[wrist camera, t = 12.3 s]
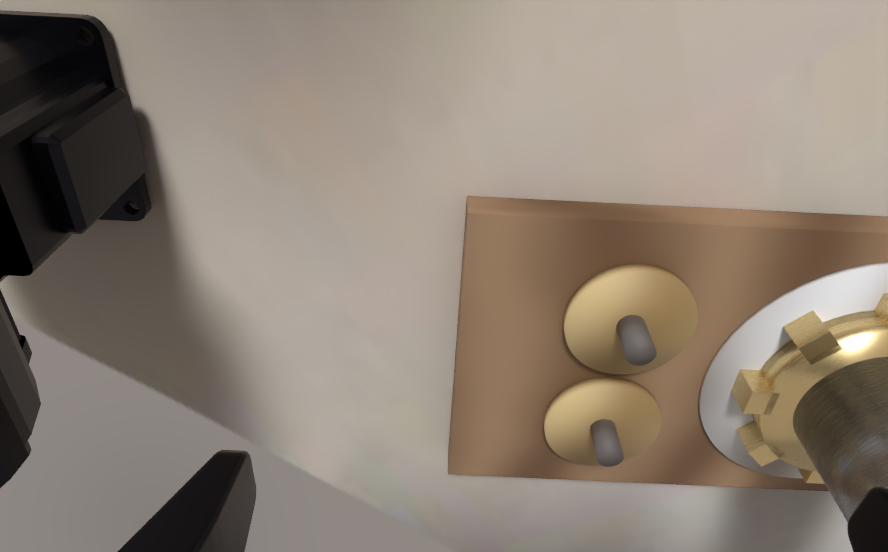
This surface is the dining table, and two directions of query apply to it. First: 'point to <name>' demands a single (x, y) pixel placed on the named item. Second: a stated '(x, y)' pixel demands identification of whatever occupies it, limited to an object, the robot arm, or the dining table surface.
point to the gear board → (637, 333)
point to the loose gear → (824, 403)
